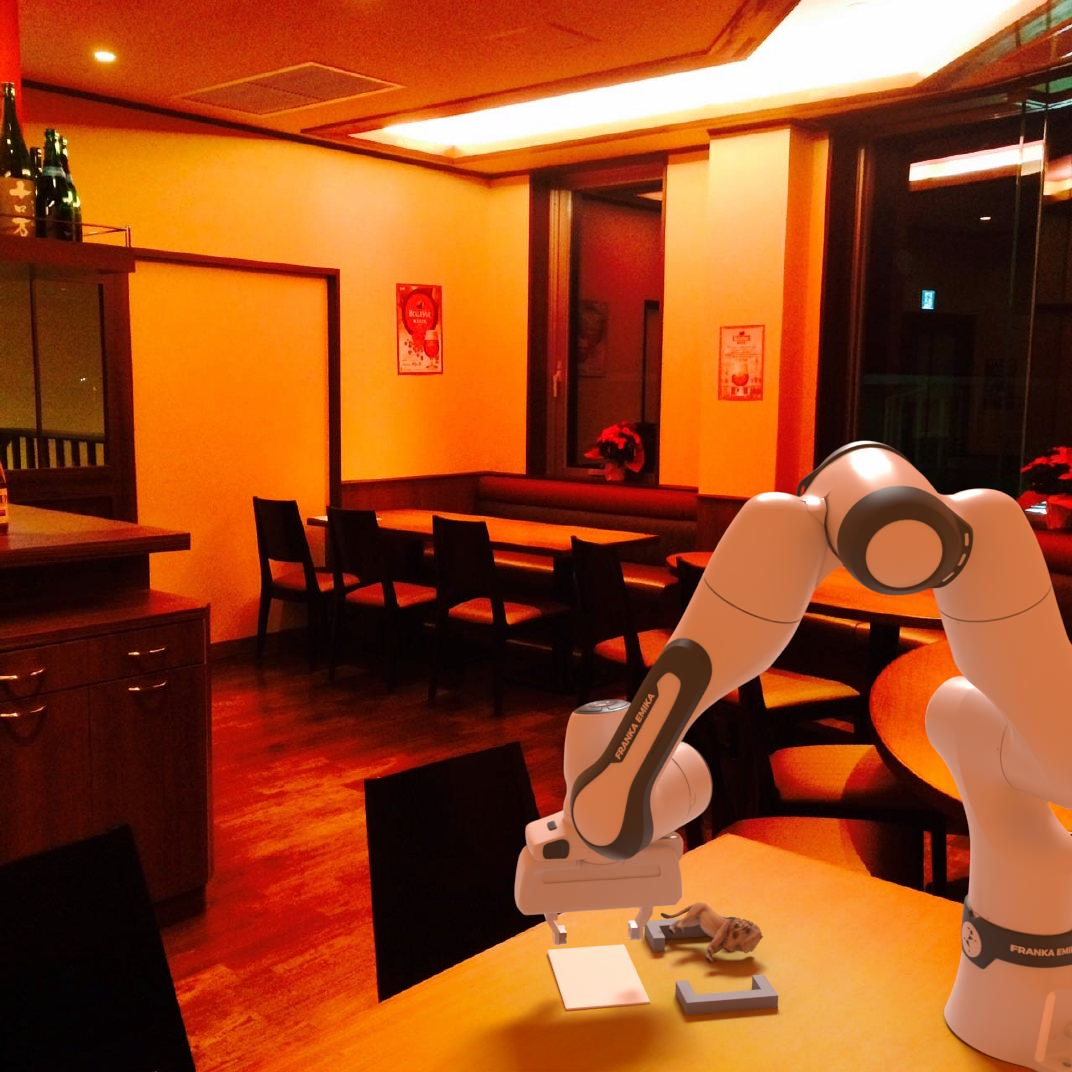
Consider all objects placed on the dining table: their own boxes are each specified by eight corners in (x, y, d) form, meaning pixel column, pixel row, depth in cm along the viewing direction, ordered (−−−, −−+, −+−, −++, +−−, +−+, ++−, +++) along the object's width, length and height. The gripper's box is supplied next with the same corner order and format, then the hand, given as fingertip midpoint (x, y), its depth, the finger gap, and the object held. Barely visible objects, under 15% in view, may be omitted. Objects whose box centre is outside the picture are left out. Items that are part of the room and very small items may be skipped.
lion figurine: (730, 983, 133) (767, 943, 137) (730, 966, 131) (767, 925, 134) (659, 924, 141) (695, 887, 144) (656, 907, 138) (693, 869, 141)
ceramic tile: (624, 948, 138) (624, 944, 138) (649, 1006, 125) (650, 1001, 125) (547, 954, 136) (547, 949, 136) (565, 1013, 124) (566, 1008, 124)
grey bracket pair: (724, 929, 143) (724, 915, 143) (777, 1011, 124) (778, 995, 124) (644, 935, 141) (644, 920, 141) (686, 1019, 123) (686, 1002, 122)
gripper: (676, 817, 133) (673, 921, 135) (513, 825, 130) (512, 932, 132) (691, 838, 127) (687, 947, 129) (520, 848, 123) (519, 959, 125)
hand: (597, 940), depth 130 cm, fingers open, 8 cm apart
